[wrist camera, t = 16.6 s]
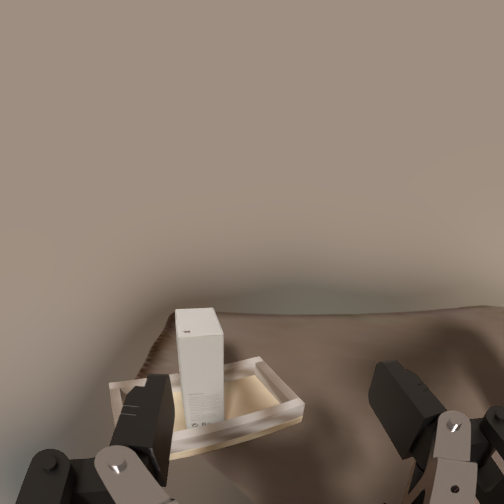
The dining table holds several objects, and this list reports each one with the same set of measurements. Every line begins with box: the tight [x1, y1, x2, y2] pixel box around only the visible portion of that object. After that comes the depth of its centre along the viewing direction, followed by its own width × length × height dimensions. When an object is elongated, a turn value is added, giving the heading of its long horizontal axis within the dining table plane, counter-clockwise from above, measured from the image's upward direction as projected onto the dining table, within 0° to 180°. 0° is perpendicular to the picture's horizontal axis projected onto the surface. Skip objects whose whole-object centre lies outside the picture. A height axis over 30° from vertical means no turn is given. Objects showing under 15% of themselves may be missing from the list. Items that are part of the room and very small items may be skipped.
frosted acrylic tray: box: [109, 357, 305, 460], centre depth 31 cm, size 20×11×3 cm, turn 116°
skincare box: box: [175, 308, 225, 429], centre depth 30 cm, size 6×4×12 cm
